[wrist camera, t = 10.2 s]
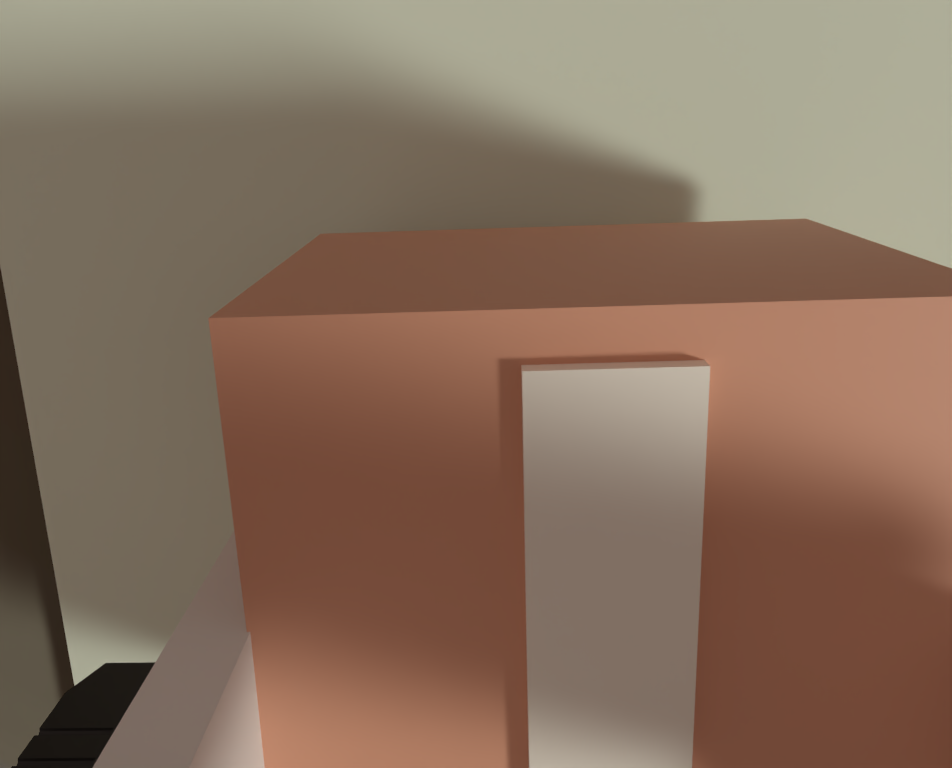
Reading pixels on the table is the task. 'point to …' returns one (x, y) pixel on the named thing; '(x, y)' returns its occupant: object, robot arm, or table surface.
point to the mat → (382, 198)
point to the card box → (595, 498)
